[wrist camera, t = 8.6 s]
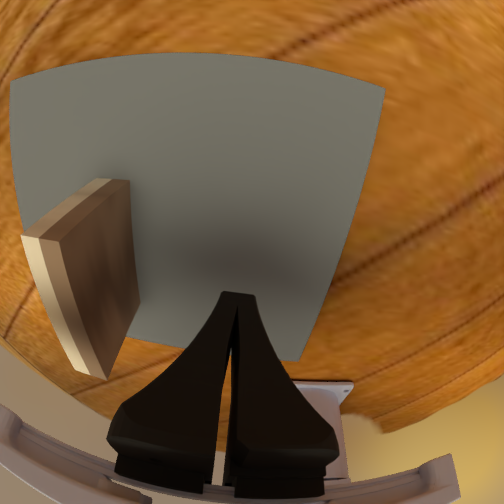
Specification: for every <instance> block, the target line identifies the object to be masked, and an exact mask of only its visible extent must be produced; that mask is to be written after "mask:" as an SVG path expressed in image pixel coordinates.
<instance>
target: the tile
mask: <svg viewBox="0 0 504 504" xmlns="http://www.w3.org/2000/svg"><path fill="white" fill-rule="evenodd" d="M21 239H22V242H23V246H24V250H25V253H26V256H27V260H28V263H29V266H30V269H31V272H32V275H33V278H34V281H35V284H36V286H37V289H38V292H39V294H40V297H41V299H42V302H43V304H44V307H45V309H46V312H47V314H48V316H49V319H50V321H51V323H52V325H53V328H54V330H55V332H56V334H57V336H58V338H59V340H60V342H61V344H62V346H63V348H64V350H65V352H66V354H67V356H68V358H69V360H70V361H71V363H72V365H73V367H74V369H75V370H77V371H80V372H83V373H86V374H89V375H92V376H95V377H98V378H101V379H104V380H108V377H109V375H110V372H111V370H112V367H113V365H114V362H115V360H116V357H117V355H118V353H119V350H120V348H121V346H122V343H123V341H124V339H125V336H126V334H127V332H128V330H129V327H130V325H131V323H132V321H133V319H134V316H135V314H136V312H137V310H138V308H139V306H140V304H141V302H140V295H139V288H138V281H137V273H136V264H135V255H134V245H133V233H132V219H131V200H130V180H122V179H106V178H96V179H94V180H93V181H91V182H90V183H88V184H87V185H85V186H84V187H82V188H81V189H79V190H78V191H76V192H75V193H74V194H72V195H71V196H69V197H68V198H67V199H65V200H64V201H63V202H61V203H60V204H59V205H57V206H56V207H55V208H53V209H52V210H51V211H49V212H48V213H47V214H45V215H44V216H43V217H42V218H40V219H39V220H38V221H37V222H35V223H34V224H33V225H32V226H31V227H29V228H28V229H27V230H26V231H25V232H24V233H22V234H21Z"/></svg>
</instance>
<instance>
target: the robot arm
mask: <svg viewBox="0 0 504 504" xmlns="http://www.w3.org/2000/svg"><path fill="white" fill-rule="evenodd" d="M230 352H231V405H230V415H229V425H228V435H227V445H226V455H225V465H224V474H223V483H222V486H219V485H211V483H212V475H213V468H214V460H215V451H216V441H217V432H218V422H219V413H220V404H221V395H222V388H223V384H224V379H225V375H226V370H227V365H228V361H229V356H230ZM353 388H354V384H353V383H352V382H307V381H292V380H291V378H290V377H289V375H288V373H287V372H286V370H285V369H284V367H283V365H282V364H281V362H280V360H279V358H278V356H277V354H276V353H275V351H274V348H273V346H272V344H271V342H270V340H269V338H268V335H267V333H266V330H265V328H264V325H263V322H262V320H261V316H260V313H259V310H258V306H257V301H256V297H255V296H254V295H253V294H245V293H237V292H230V291H223V292H221V294H220V297H219V299H218V302H217V304H216V306H215V308H214V309H213V311H212V313H211V315H210V316H209V318H208V319H207V321H206V323H205V324H204V326H203V327H202V328H201V330H200V331H199V333H198V334H197V335H196V337H195V338H194V339H193V341H192V342H191V343H190V344H189V346H188V347H187V348H186V349H185V350H184V351H183V353H182V354H181V355H180V356H179V357H178V358H177V359H176V360H175V361H174V362H173V363H172V364H171V365H170V366H169V367H168V368H167V369H166V370H165V371H164V372H163V373H162V374H160V375H159V376H158V377H157V378H156V379H154V380H153V381H152V382H151V383H150V384H148V385H147V386H146V387H145V388H143V389H142V390H141V391H139V392H138V393H136V394H135V395H133V396H132V397H130V398H129V399H127V400H126V401H124V402H123V403H122V404H121V405H120V407H119V408H118V410H117V412H116V413H115V415H114V417H113V419H112V422H111V424H110V428H109V431H108V435H107V438H106V439H107V441H108V443H109V444H110V445H111V446H112V447H113V448H114V450H115V451H116V452H117V453H118V456H117V460H116V463H113V462H110V461H108V460H104V459H102V458H99V457H96V456H94V455H91V454H88V453H86V452H84V451H81V450H79V449H77V448H74V447H72V446H70V445H67V444H65V443H63V442H61V441H59V440H57V439H55V438H53V437H50V436H49V435H47V434H45V433H43V432H41V431H39V430H37V429H35V428H34V427H32V426H30V425H28V424H26V423H25V422H23V421H22V420H21V419H20V417H19V416H17V415H16V414H15V413H14V412H12V411H11V410H10V409H8V408H6V407H5V406H3V405H2V404H0V464H1V465H2V466H3V467H5V468H6V469H7V470H9V471H10V472H11V473H12V474H14V475H15V476H17V477H18V478H19V479H21V480H22V481H24V482H25V483H26V484H28V485H29V486H31V487H32V488H34V489H35V490H37V491H39V492H40V493H42V494H44V495H45V496H47V497H48V498H50V499H52V500H53V501H55V502H57V503H59V504H152V498H151V497H148V496H146V495H143V494H141V493H140V492H139V491H136V490H134V489H131V488H128V487H125V486H122V485H120V484H117V483H114V482H112V481H111V479H113V480H116V481H119V482H122V483H125V484H128V485H132V486H135V487H139V488H142V489H146V490H150V491H154V492H158V493H162V494H167V495H172V496H177V497H182V498H188V499H195V500H201V501H209V502H218V503H227V504H450V503H452V502H454V501H456V500H458V499H460V497H461V495H460V490H459V485H458V480H457V476H456V471H455V467H454V463H453V459H452V455H451V454H450V453H449V454H447V455H444V456H441V457H439V458H435V459H433V460H430V461H428V462H426V463H424V464H422V465H421V466H420V467H418V468H415V469H411V470H407V471H404V472H400V473H396V474H392V475H388V476H384V477H379V478H375V479H369V480H364V481H358V482H352V483H351V480H350V478H349V475H348V467H347V458H346V451H345V443H344V436H343V429H342V422H341V416H340V409H339V405H340V404H341V403H342V401H343V400H344V399H345V398H346V396H347V395H348V394H349V393H350V391H351V390H352V389H353ZM109 478H110V479H109Z"/></svg>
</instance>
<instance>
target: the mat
mask: <svg viewBox="0 0 504 504" xmlns="http://www.w3.org/2000/svg"><path fill="white" fill-rule="evenodd" d="M384 95H385V88H382V87H380V86H377V85H374V84H371V83H368V82H365V81H362V80H358V79H355V78H352V77H348V76H345V75H341V74H338V73H334V72H330V71H326V70H322V69H318V68H314V67H309V66H304V65H300V64H294V63H289V62H284V61H278V60H271V59H264V58H257V57H249V56H239V55H227V54H212V53H154V54H138V55H127V56H118V57H110V58H103V59H96V60H90V61H84V62H79V63H74V64H69V65H65V66H60V67H56V68H52V69H48V70H45V71H41V72H37V73H34V74H31V75H27V76H24V77H21V78H18V79H15V80H12V81H11V83H10V144H11V156H12V166H13V175H14V182H15V189H16V195H17V200H18V206H19V211H20V216H21V220H22V225H23V229H24V232H25V231H26V230H27V229H28V228H29V227H31V226H32V225H33V224H34V223H35V222H37V221H38V220H39V219H40V218H42V217H43V216H44V215H45V214H47V213H48V212H49V211H51V210H52V209H53V208H55V207H56V206H57V205H59V204H60V203H61V202H63V201H64V200H65V199H67V198H68V197H69V196H71V195H72V194H74V193H75V192H76V191H78V190H79V189H81V188H82V187H84V186H85V185H87V184H88V183H90V182H91V181H93V180H94V179H96V178H106V179H122V180H130V200H131V219H132V233H133V245H134V255H135V264H136V273H137V281H138V288H139V295H140V302H141V304H140V306H139V308H138V310H137V312H136V314H135V316H134V319H133V321H132V323H131V325H130V327H129V330H128V332H127V334H126V337H130V338H135V339H139V340H144V341H149V342H154V343H158V344H164V345H169V346H174V347H180V348H185V349H186V348H187V347H188V346H189V344H190V343H191V342H192V341H193V339H194V338H195V337H196V335H197V334H198V333H199V331H200V330H201V328H202V327H203V326H204V324H205V323H206V321H207V319H208V318H209V316H210V315H211V313H212V311H213V309H214V308H215V306H216V304H217V302H218V299H219V297H220V294H221V292H223V291H230V292H237V293H245V294H253V295H254V296H255V297H256V301H257V306H258V310H259V313H260V316H261V320H262V322H263V325H264V328H265V330H266V333H267V335H268V338H269V340H270V342H271V344H272V346H273V348H274V351H275V353H276V354H277V356H278V358H279V360H283V361H299V359H300V357H301V354H302V352H303V350H304V348H305V345H306V343H307V341H308V338H309V336H310V334H311V331H312V329H313V327H314V324H315V322H316V319H317V317H318V314H319V312H320V309H321V307H322V304H323V302H324V299H325V297H326V294H327V291H328V289H329V286H330V284H331V281H332V278H333V275H334V273H335V270H336V267H337V264H338V262H339V259H340V256H341V253H342V250H343V247H344V244H345V241H346V238H347V235H348V232H349V229H350V226H351V223H352V220H353V217H354V213H355V210H356V207H357V204H358V200H359V197H360V193H361V190H362V186H363V183H364V179H365V176H366V172H367V168H368V165H369V161H370V157H371V153H372V149H373V145H374V141H375V137H376V132H377V128H378V124H379V119H380V114H381V110H382V105H383V100H384ZM230 355H231V352H230Z"/></svg>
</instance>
